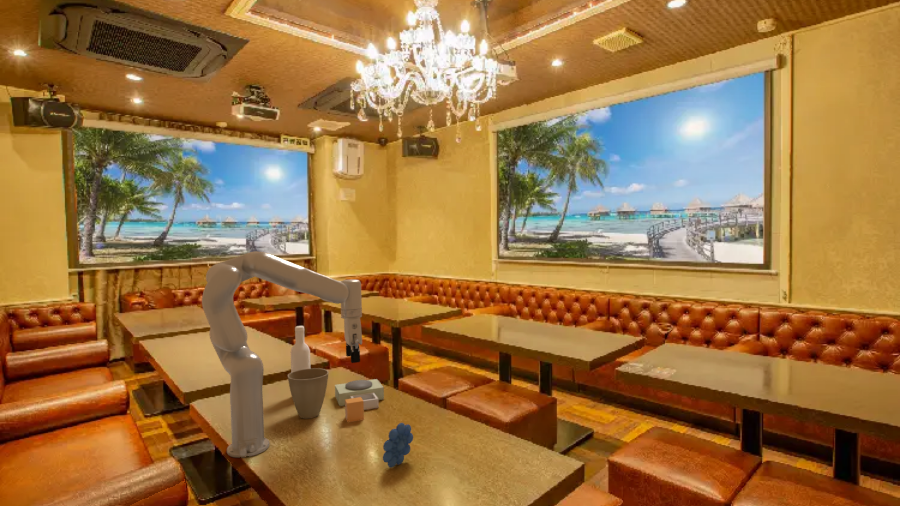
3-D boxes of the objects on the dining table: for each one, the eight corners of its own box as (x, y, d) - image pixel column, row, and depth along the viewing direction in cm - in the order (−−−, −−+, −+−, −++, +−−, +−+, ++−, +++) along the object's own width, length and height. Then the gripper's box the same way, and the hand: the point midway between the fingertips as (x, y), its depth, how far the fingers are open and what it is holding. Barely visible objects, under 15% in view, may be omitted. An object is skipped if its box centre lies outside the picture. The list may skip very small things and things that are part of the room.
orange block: (363, 419, 171) (363, 400, 171) (347, 422, 169) (347, 403, 168) (361, 415, 175) (360, 397, 175) (345, 417, 173) (344, 399, 173)
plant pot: (332, 418, 172) (330, 376, 171) (290, 425, 167) (288, 381, 166) (327, 405, 186) (326, 366, 185) (288, 411, 181) (286, 370, 180)
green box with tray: (389, 405, 184) (388, 391, 184) (343, 413, 177) (342, 398, 177) (377, 390, 203) (376, 377, 202) (335, 396, 196) (334, 383, 196)
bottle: (291, 395, 198) (288, 325, 197) (310, 392, 202) (307, 324, 200) (293, 401, 191) (290, 329, 190) (312, 398, 194) (310, 327, 193)
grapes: (402, 452, 144) (402, 414, 144) (418, 459, 140) (417, 420, 140) (374, 467, 136) (373, 427, 135) (389, 474, 131) (388, 433, 131)
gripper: (366, 316, 164) (368, 363, 164) (357, 308, 180) (358, 352, 180) (345, 318, 161) (346, 366, 162) (337, 310, 177) (338, 354, 178)
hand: (353, 359), depth 171 cm, fingers open, 9 cm apart
